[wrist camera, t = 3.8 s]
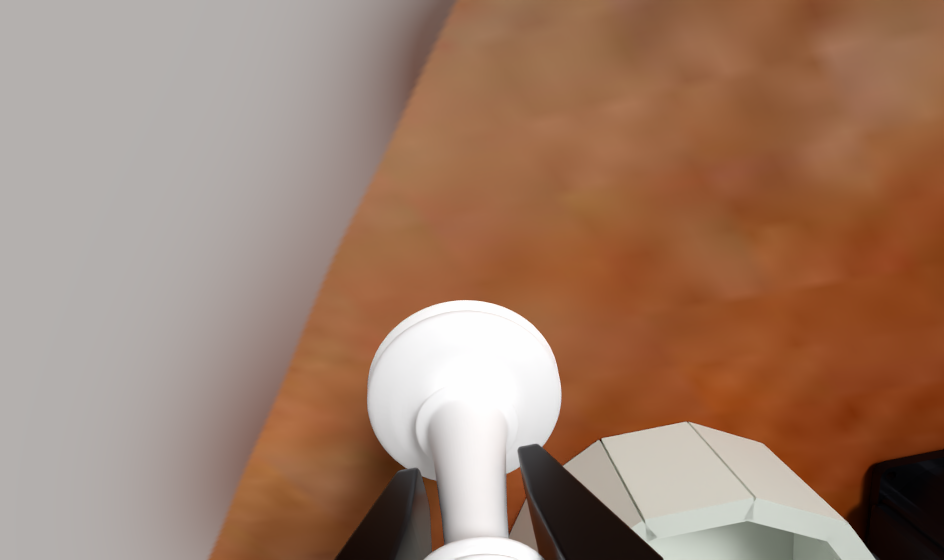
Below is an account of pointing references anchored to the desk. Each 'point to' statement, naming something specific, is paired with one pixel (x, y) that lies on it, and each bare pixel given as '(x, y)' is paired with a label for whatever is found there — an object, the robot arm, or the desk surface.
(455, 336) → the chess piece
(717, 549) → the bowl
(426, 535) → the robot arm
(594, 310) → the desk surface
